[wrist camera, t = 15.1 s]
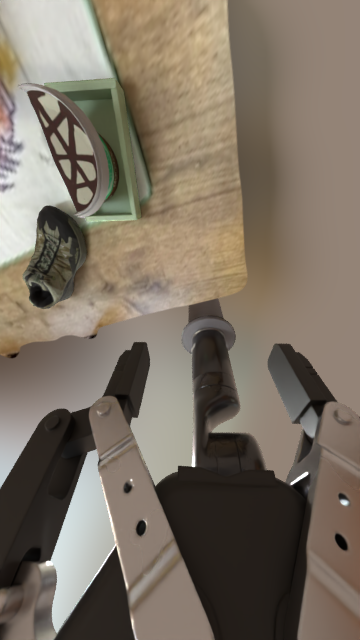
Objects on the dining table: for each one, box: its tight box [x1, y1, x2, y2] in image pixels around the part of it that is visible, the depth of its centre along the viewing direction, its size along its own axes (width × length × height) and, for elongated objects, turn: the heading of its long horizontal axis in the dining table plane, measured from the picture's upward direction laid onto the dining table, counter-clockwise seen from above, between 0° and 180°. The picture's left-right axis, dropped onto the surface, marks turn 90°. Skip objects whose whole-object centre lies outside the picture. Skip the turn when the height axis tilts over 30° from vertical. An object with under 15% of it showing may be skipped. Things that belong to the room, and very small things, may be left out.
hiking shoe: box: [23, 206, 87, 309], centre depth 35 cm, size 8×21×9 cm, turn 154°
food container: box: [18, 83, 119, 218], centre depth 24 cm, size 12×6×10 cm, turn 8°
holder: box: [44, 78, 141, 221], centre depth 27 cm, size 15×9×4 cm, turn 2°
